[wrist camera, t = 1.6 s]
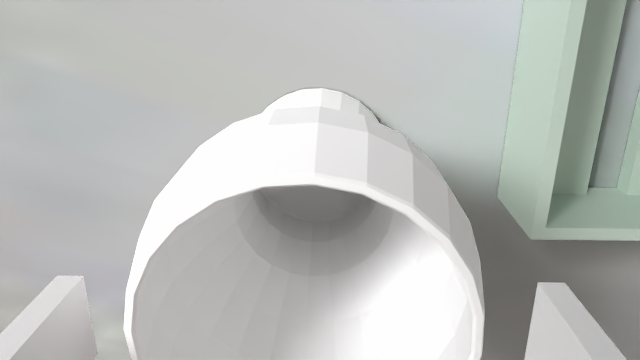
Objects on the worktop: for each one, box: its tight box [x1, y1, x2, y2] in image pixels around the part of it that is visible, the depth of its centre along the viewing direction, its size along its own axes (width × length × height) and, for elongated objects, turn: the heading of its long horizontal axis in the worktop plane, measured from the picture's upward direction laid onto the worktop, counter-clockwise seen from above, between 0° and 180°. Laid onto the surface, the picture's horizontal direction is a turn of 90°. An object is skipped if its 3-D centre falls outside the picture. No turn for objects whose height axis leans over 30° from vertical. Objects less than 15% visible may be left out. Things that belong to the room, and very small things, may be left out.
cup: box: [124, 88, 485, 360], centre depth 20 cm, size 11×11×15 cm
